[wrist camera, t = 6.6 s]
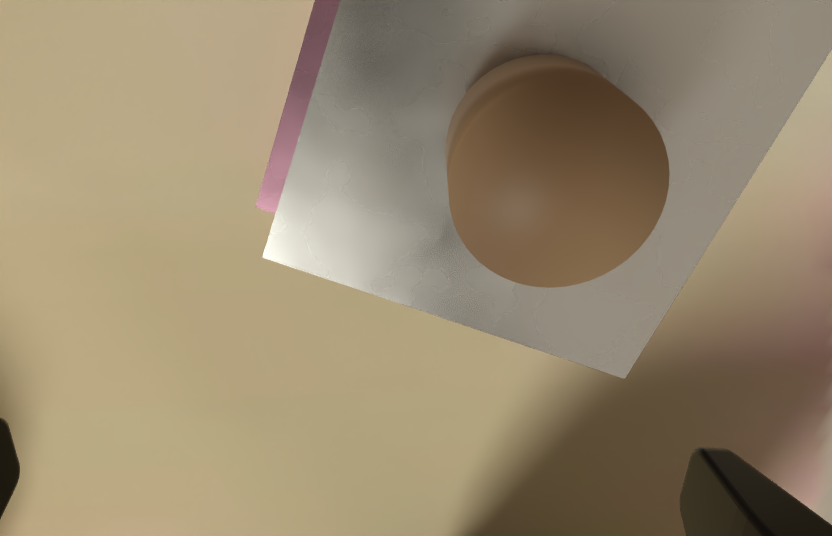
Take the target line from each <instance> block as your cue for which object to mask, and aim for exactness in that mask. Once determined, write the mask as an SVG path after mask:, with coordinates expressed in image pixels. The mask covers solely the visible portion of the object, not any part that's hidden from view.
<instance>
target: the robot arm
mask: <svg viewBox="0 0 832 536" xmlns="http://www.w3.org/2000/svg"><path fill="white" fill-rule="evenodd" d="M19 474H20V465H19V461H18V457H17V454H16V450H15V447H14V443H13V440H12V436H11V432H10V429H9V426H8V423H7V422H6V421H5V420H4V419H3V418H0V519H1V517H2V515H3V513H4V511H5V509H6V506H7V504H8V502H9V500H10V498H11V496H12V494H13V492H14V490H15V488H16V485H17V483H18V479H19ZM680 511H681V516H682V520H683V524H684V528H685V532H686V536H832V525H831V524H830V523H828V522H827V521H825V520H824V519H823V518H821V517H820V516H819V515H817V514H816V513H815V512H813V511H812V510H811V509H809V508H808V507H806V506H805V505H804V504H802V503H801V502H800V501H798V500H797V499H796V498H794V497H793V496H792V495H790V494H789V493H787V492H786V491H785V490H783V489H782V488H781V487H779V486H778V485H777V484H775V483H774V482H773V481H771V480H770V479H768V478H767V477H766V476H764V475H763V474H762V473H760V472H759V471H758V470H756V469H755V468H754V467H752V466H751V465H749V464H748V463H747V462H745V461H744V460H743V459H741V458H740V457H739V456H737V455H736V454H735V453H733V452H731V451H730V450H727V449H723V448H698V449H696V450H694V452H693V453H692V455H691V458H690V462H689V465H688V469H687V472H686V476H685V480H684V483H683V487H682V490H681V495H680Z"/></svg>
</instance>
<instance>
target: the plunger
mask: <svg viewBox="0 0 832 536" xmlns="http://www.w3.org/2000/svg"><path fill="white" fill-rule="evenodd" d="M445 154H446V167H447V181H448V195H449V207H450V211H451V216H452V220H453V223H454V225H455V228H456V231H457V233H458V235H459V236H460V238H461V240H462V242H463V244H464V245H465V246H466V248H467V249H468V250H469V252H470V253H471V254H472V255H473V256H474V257H475V258H476V259H477V260H478V261H479V262H480V263H481V264H483V265H484V266H485V267H486V268H488V269H489V270H490V271H492V272H494V273H496V274H497V275H499V276H501V277H503V278H505V279H508V280H510V281H513V282H516V283H520V284H523V285H528V286H534V287H547V288H554V287H566V286H571V285H576V284H580V283H584V282H587V281H590V280H593V279H595V278H597V277H600V276H602V275H604V274H606V273H608V272H610V271H611V270H613V269H615V268H616V267H618V266H619V265H621V264H622V263H623V262H625V261H626V260H627V259H629V258H630V257H631V256H632V255H633V254H634V253H635V252H636V251H637V250H638V249H639V248H640V247H641V246H642V244H643V243H644V242H645V241H646V240H647V238H648V237H649V235H650V234H651V232H652V231H653V229H654V228H655V226H656V224H657V222H658V220H659V218H660V216H661V214H662V211H663V208H664V205H665V203H666V198H667V194H668V189H669V176H670V173H669V160H668V155H667V151H666V147H665V144H664V142H663V139H662V136H661V134H660V132H659V130H658V129H657V127H656V125H655V123H654V122H653V121H652V119H651V118H650V117H649V115H648V114H647V113H646V112H645V111H644V110H643V109H642V108H641V107H640V106H639V105H638V104H637V103H636V102H635V101H633V100H632V99H631V98H630V97H629V96H627V95H626V94H625V93H624V92H622V91H621V90H620V89H619V88H617V87H616V86H615V85H614V84H612V83H611V82H610V81H609V80H607V79H606V78H605V77H604V76H602V75H601V74H600V73H598V72H597V71H596V70H594V69H593V68H591V67H590V66H588V65H586V64H584V63H582V62H580V61H577V60H574V59H571V58H568V57H563V56H558V55H542V54H541V55H531V56H526V57H521V58H517V59H514V60H511V61H509V62H506V63H504V64H502V65H500V66H498V67H496V68H494V69H492V70H491V71H490V72H488V73H487V74H485V75H484V76H482V77H481V78H480V79H479V80H478V81H477V82H476V83H475V84H474V85H472V87H471V88H470V89H469V90H468V91H467V93H466V94H465V95H464V96H463V98H462V99H461V101H460V103H459V104H458V106H457V108H456V110H455V112H454V114H453V116H452V119H451V122H450V125H449V128H448V132H447V138H446V150H445Z"/></svg>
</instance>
